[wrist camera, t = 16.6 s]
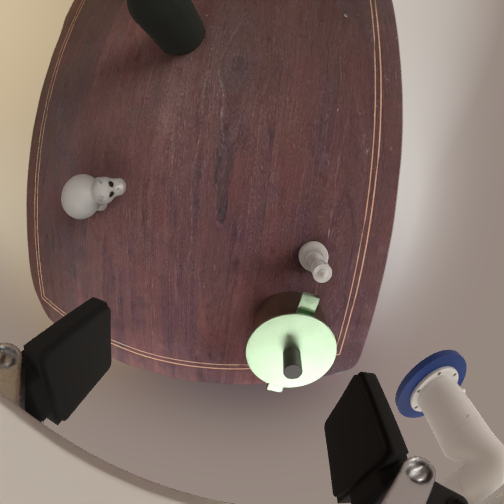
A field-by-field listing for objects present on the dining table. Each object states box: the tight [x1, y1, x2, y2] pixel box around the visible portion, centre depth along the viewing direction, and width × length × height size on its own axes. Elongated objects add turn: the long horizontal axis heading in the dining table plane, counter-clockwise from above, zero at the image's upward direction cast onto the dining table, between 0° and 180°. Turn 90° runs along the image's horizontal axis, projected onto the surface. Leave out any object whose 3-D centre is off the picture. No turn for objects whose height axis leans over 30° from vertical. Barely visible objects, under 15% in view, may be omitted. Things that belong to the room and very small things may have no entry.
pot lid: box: [246, 313, 337, 387], centre depth 33 cm, size 12×12×5 cm
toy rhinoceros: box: [61, 174, 126, 219], centre depth 37 cm, size 7×12×8 cm, turn 95°
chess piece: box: [299, 241, 332, 283], centre depth 36 cm, size 4×4×10 cm
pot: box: [252, 292, 328, 392], centre depth 39 cm, size 11×17×8 cm
